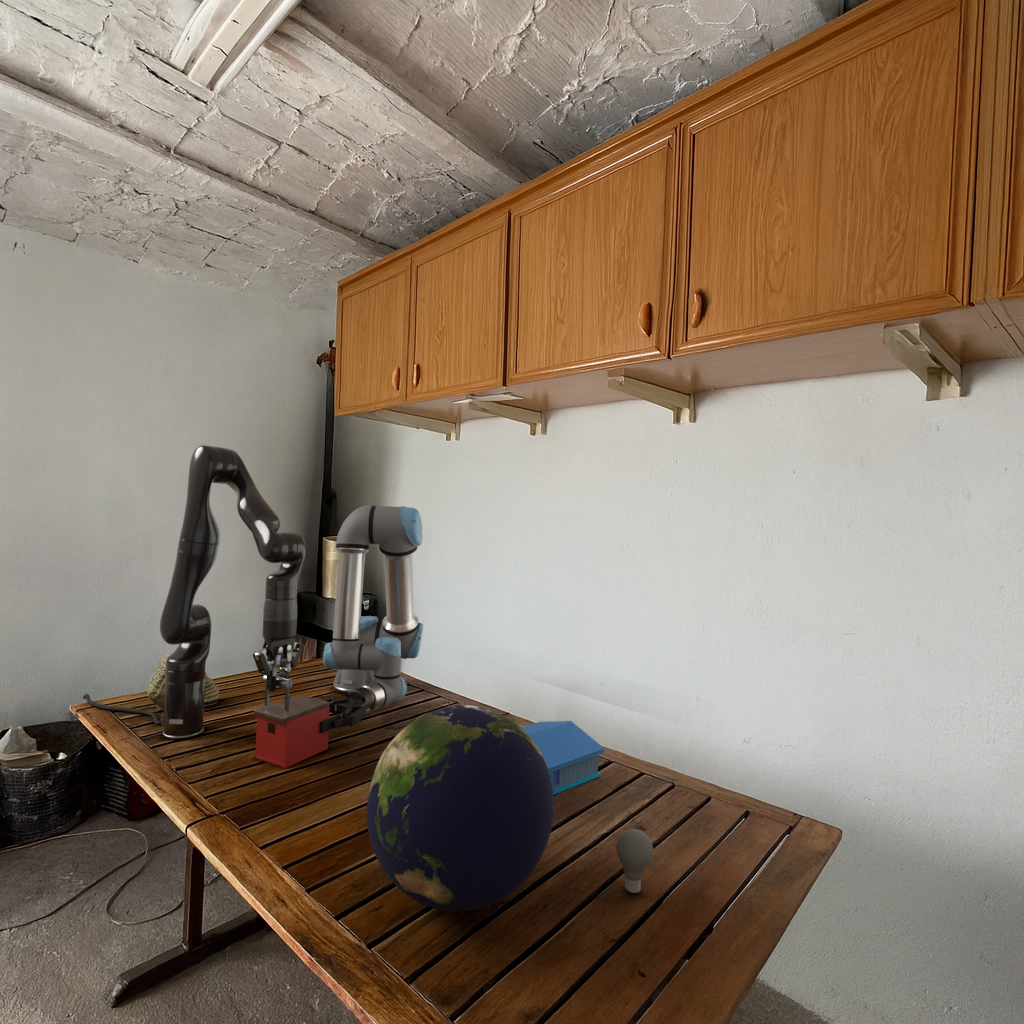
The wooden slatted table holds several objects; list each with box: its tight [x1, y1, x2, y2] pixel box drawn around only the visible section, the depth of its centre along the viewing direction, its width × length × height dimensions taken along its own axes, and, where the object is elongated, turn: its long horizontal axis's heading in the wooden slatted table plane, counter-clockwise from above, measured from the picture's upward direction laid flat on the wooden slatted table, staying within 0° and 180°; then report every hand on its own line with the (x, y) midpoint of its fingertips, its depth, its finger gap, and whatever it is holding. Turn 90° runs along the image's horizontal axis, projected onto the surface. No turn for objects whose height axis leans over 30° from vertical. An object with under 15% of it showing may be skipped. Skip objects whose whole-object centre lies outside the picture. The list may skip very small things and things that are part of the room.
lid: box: [253, 674, 330, 723], centre depth 154 cm, size 15×10×10 cm
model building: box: [520, 720, 605, 796], centre depth 143 cm, size 39×24×10 cm, turn 132°
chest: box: [255, 707, 330, 769], centre depth 155 cm, size 14×10×11 cm
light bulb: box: [615, 828, 654, 894], centre depth 106 cm, size 6×6×10 cm
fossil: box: [147, 654, 221, 712], centre depth 185 cm, size 9×18×15 cm, turn 132°
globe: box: [366, 704, 555, 913], centre depth 102 cm, size 30×30×30 cm
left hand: (277, 689), depth 150 cm, fingers open, 3 cm apart
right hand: (305, 723), depth 158 cm, fingers closed on chest, 10 cm apart
